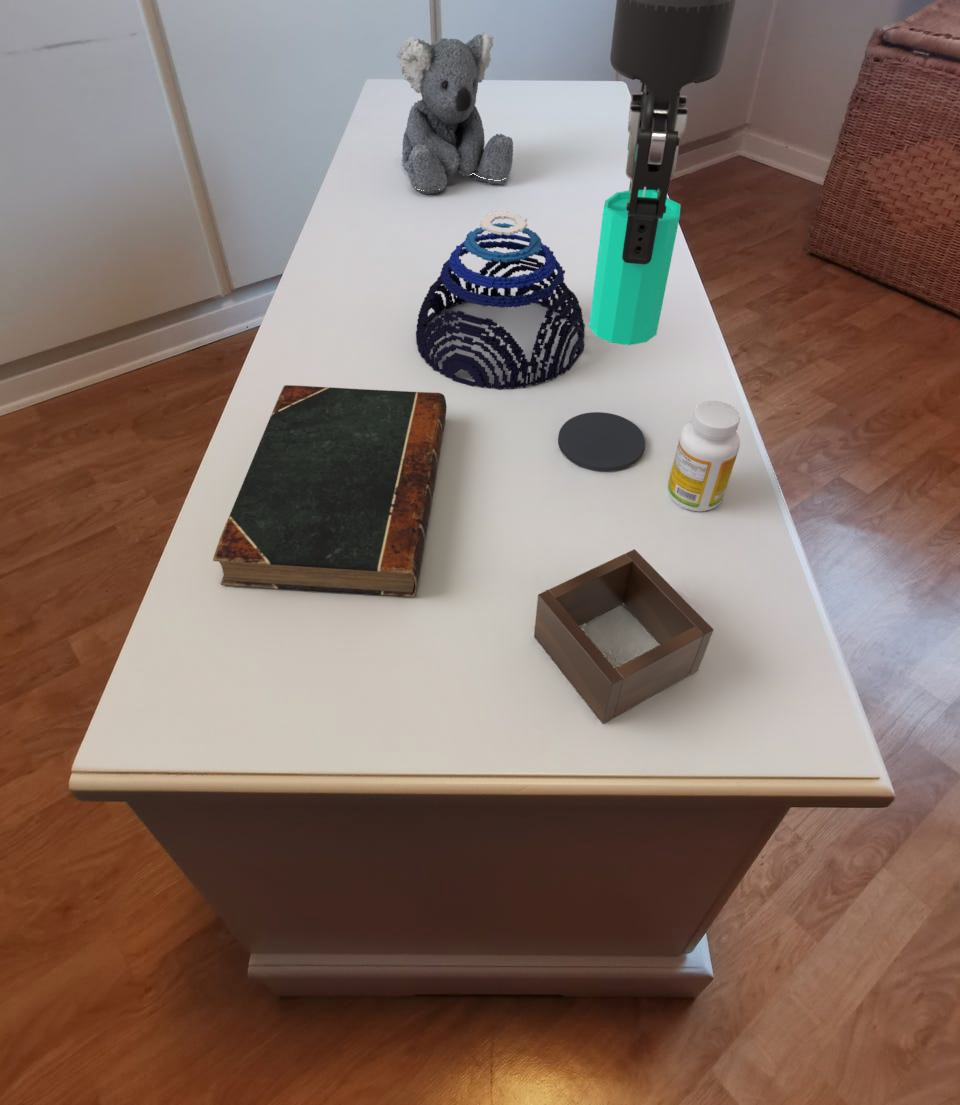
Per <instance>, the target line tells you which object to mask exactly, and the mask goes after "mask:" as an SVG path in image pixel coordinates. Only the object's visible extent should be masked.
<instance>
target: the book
mask: <svg viewBox="0 0 960 1105" xmlns="http://www.w3.org/2000/svg"><path fill="white" fill-rule="evenodd" d="M447 408H448V406H447V400H446V397H445V395H444V394H443V393H441V392H430V391H429V392H428V391H427V392H425V391H409V390H408V391H405V390H384V389H366V388H365V389H363V388H346V387H331V386H330V387H328V386H314V385H313V386H312V385H311V386H310V385H293V384H292V385H291V384H290V385H289V384H285V385H283V387H282V389H281V390H280V394H279V396H278V398H277V400H276V402H275V405H274V408H273V410H272V413H271V415H270V416H269V420H268V422H267V424H266V427H265V429H264V431H263V434H262V435H261V439H260V440H259V443H258V445H257V448H256V451H255V453H254V456H253V458H252V460H251V462H250V465H249V467H248V470H247V472H246V474H245V477H244V479H243V482H242V484H241V487H240V488H239V492H238V494H237V496H236V499H235V501H234V503H233V507H232V508H231V511H230V513H229V516H228V518H227V520H226V523H225V525H224V527H223V530H222V532H221V535H220V536H219V540H218V543H217V546H216V548H215V550H214V551H215V552H214V554H213V557H212V561H213V562H217V563H218V562H219V565H221V569H222V573H223V576H222V579H221V582H220V585H221V586H230V587H231V586H233V587H247V588H261V589H278V590H293V591H305V592H324V593H325V592H326V593H342V594H363V595H377V596H378V595H380V596H391V597H392V596H393V597H402V598H408V597H410V598H414V597H415V596H416V594H417V591H418V584H419V578H420V571H421V565H422V561H423V554H424V550H425V549H424V548H425V542H426V536H427V531H428V526H429V525H428V524H429V519H430V512H431V507H432V503H433V502H432V501H433V496H434V490H435V484H436V478H437V472H438V467H439V459H440V454H441V447H442V440H443V435H444V429H445V422H446V416H447Z"/></svg>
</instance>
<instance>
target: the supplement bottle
mask: <svg viewBox="0 0 960 1105" xmlns="http://www.w3.org/2000/svg"><path fill="white" fill-rule="evenodd" d="M740 422H741V415H740V412H739V411H738V409H736V408H735V407H734V406H732V405H731V404H729V403H726V402H723V401H718V400H708V401H707V400H706V401H704V402H701V403H699V404H698V405H697V406H696V407H695V409H694V412H693V415H692V417H691V421H689V422H687V424H685V425H684V426H683V427H682V429H681V432H680V434H679V438H678V443H677V446H676V450H675V455H674V459H673V463H672V468H671V471H670V474H669V479H668V484H667V494H668V495H669V498H670V499H671V500H672V501H673V502H674V503H675V504H677V506H679V507H681V508H682V509H685V510H688V511H693V512H705V511H710V510H713V509H714V508H717V507H718V506H719V505H720V504H721V503H722V501H723V498H724V496H725V494H726V490H727V487H728V484H729V481H730V478H731V475H732V472H733V469H734V466H735V462H736V459H737V456H738V453H739V451H740V446H741V438H740V436H739V433H738V432H737V431H738V428H739V424H740Z"/></svg>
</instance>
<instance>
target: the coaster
mask: <svg viewBox="0 0 960 1105" xmlns="http://www.w3.org/2000/svg"><path fill="white" fill-rule="evenodd" d="M557 443H558V447H559V451H561V453H562V454H563V456H564V457H565V458H566V459H567V460H569V462H571V463H573V464H574V465H576V466H579V467H581V468H583V469H586V470H590V471H594V472H604V473H605V472H607V473H608V472H617V471H621V470H622V471H623V470H625V469H628V468H630V467H632V466H634V465H635V464H636V463H638V462H639V461H640V460H641V459H642V457H643V455H644V453H645V448H646V438H645V436H644V433H643V431H642V430H641V429H640V427H639V426H637V425H636V424H635V423H634V422H632V421H631V420H629V419H627V418H625V417H623V416H620V415H618V414H614V413H611V412H603V411H593V412H591V411H590V412H585V413H581V414H577V415H575V416H573V417H571V418H569V419H568V420H566V421H565V422H564V423H563V425H562V426H561V427H560V429H559V431H558V437H557Z"/></svg>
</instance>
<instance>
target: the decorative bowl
mask: <svg viewBox="0 0 960 1105" xmlns="http://www.w3.org/2000/svg"><path fill="white" fill-rule="evenodd" d="M499 219H500V220H505V219H506V220H510V221H514V224H511V223H505V222H503V223H500V222H498V223H493V222H494V221H496V220H499ZM527 221H528V218H527V217H522V215H521V214H519V213H515V212H510V211H495V212H494V211H492V212H491V213H490V214H486V215H485V216H484V217H482V218H481V219H480V222H479V227H476V228H475V229H474V230H473V231H472V230H470V231H469V232H468V233H467V234H466V237H465V239H464V241H462V242H461V243H460V244H459V245H455V248H454V250H452V252H450V256H449V259H448V260H446V261H445V262H444V263H443V264H442V267H441V271H440V272H439V273H440V275H439V276H438V277H437V280H436V281H435V282H433V284H431V285H430V286H429V289H428V291H427V293H426V296H425V297H424V298H423V301H422V303H421V305H420V308H419V311H418V312H419V313H418V315H417V320H416V321H417V324H416V331H415V340H416V345H417V351H418V353H420V357H421V358H422V359H424V361H425V363H426V364H427V365H428V366H429V367H431V369H432V370H433V371H435V372H439V374H440V375H444V377H445V378H449V379H452V381H453V382H457V383H460V384H464V385H467V386H471V387H478V388H487V389H495V390H500V391H501V390H504V389H507V390H509V389H511V390H514V389H518V388H519V389H520V388H524V389H526V387H527V386H528V387H529V386H533V387H535V386H536V384H537V385H539V384H542V383H544V384H545V383H546V382H548V381H553V379H557V377H558V376H561V375H562V374H565V373H566V372H567V371H570V370H571V369H572V367H573V366H574V364H575V363H576V362H577V360H578V359H579V358H580V356H581V355H582V353H583V352H584V350H585V329H586V324H585V322H584V318H583V311H582V306H581V305H580V301H579V300H578V297H577V295H576V294H575V293H574V291H571V289H570V288H569V287H568V285H567V283H566V282H565V273H566V270H565V269H563V266H562V265H561V263H559V261H558V260H557V259H556V256H555V255H554V251H553V250H551V249H550V248H551V247H549V246H547V245H546V244H544V243H543V242H542V238H541V237H540V236H539V235H538V233H537V232H535V231H533V229H532V230H531V228H528V223H527ZM484 232H487V234H483V233H484ZM519 232H520V233H522V234H524V235H527V236H528V237H527V236H523V235H518V233H519ZM500 239H501V241H496V240H500ZM491 240H492V241H491ZM507 240H508V241H507ZM512 240H513V241H512ZM515 240H517V241H522V242H525V243H528V244H524V243H519V242H515ZM496 248H500V249H506V250H507V251H508V250H513V251H509V252H507V251H506V252H502V251H498V250H493V251H492V250H490V249H496ZM488 249H489V250H488ZM469 253H470V255H474V256H476V257H477V258H480V259H482V260H484V261H487V262H486V263H485V266H483V267H482V268H481V269H480V270H479V272H477V271H473V269H471V268H468V267H467V266H466V265H465V263H462V259H461V258H460V257H463V256H465V255H467V254H469ZM533 256H539V257H542V258H544V262H542V261H539V259H537V258H534V257H533ZM511 265H513V266H512V267H511V268H509V267H510V266H511ZM514 265H515V266H514ZM507 268H509V269H508V270H506V269H507ZM503 269H504V270H506V271H505V272H504V273H503V274H501V275H500V276H498V275H497V274H498V273H500V272H501V271H502V270H503ZM520 271H521V272H527V271H530V272H529V274H526V273H522V274H519V275H518V276H515V275H513V274H516V272H517V273H519V272H520ZM495 275H496V276H495ZM461 279H462V280H463V281H464V282H465V284H464V285H465V286H463V284H462V283H461V282H462V281H461ZM544 279H545V280H544ZM546 282H549V283H546ZM473 285H474V287H473ZM464 287H465V288H464ZM481 287H483V288H482V291H480V293H479V289H480V288H481ZM499 289H503V290H504V291H503V294H501V292H500V291H499ZM512 289H517V291H515V294H513V295H512ZM489 290H490V294H489ZM530 291H531V293H529V292H530ZM438 292H441V293H438ZM442 294H443V295H444V298H445V302H444V299H443V296H442ZM556 296H557V297H556ZM463 303H464V304H465V303H471V304H474V305H478V306H481V307H491V308H495V307H496V308H501V309H503V308H506V309H508V308H519V307H524V306H530V305H531V304H537V305H540V306H541V307H545V308H547V310H546V311H545V314H544V318H545V320H544V322H543V321H542V322H541V323H540V327H539V329H538V331H537V333H536V336H535V340H534V344H533V347H532V352H531V357H530V358H529V361H528V359H527V358H526V353H524V349H522V346H521V345H520V344H519V343H518V341H517V340H516V338H514V336H513V335H511V332H508V331H507V329H505V326H502V325H499V326H498V322H495V321H494V319H493V318H489V317H486V318H483V317H479V316H476V315H471V314H468V313H466V312H465V311H462V310H458V309H457V311H454V310H451V311H444V310H447V309H451V308H452V307H455V306H457V304H458V305H462V304H463ZM430 310H433V312H431V313H430V314H429V311H430ZM443 311H444V312H443ZM554 312H555V313H559V314H556V315H555V316H553V314H554ZM441 313H443V314H441ZM436 316H437V317H436ZM435 317H436V318H435ZM434 318H435V319H434ZM433 319H434V320H433ZM459 319H460V320H461V321H458V320H459ZM565 319H566V320H565ZM432 320H433V321H432ZM561 320H565V321H564V322H563V321H561ZM454 321H456V322H454ZM462 321H463V322H462ZM453 322H454V323H453ZM466 322H468V323H466ZM446 323H447V324H446ZM451 323H453V324H451ZM470 323H471V324H470ZM556 323H557V324H556ZM473 324H475V325H473ZM478 325H479V326H478ZM482 325H484V326H487V330H489V331H487V330H486V328H485V327H481V326H482ZM548 325H549V329H548V328H547V327H548ZM573 328H574V329H573ZM549 330H551V332H550V336H548V339H547V342H545V340H546V338H547V335H548V333H549ZM490 331H491V333H492V334H493V335H491V333H490ZM542 331H543V332H542ZM447 334H448V335H449V336H448V337H447ZM459 334H463V335H464V336H463V337H462V336H459ZM466 335H467V336H466ZM576 335H577V338H578V339H577V340H576V341H575V343H574V344H573V345H572V347H571V350H570V353H569V356H568V362H567V364H566V365H565V360H566V357H567V352H568V351H569V347H570V346H571V345H570V344H571V341H572V340H573V338H574V337H575V336H576ZM557 336H558V337H559V339H558V343H557V344H556V348H555V351H554V353H553V355H551V353H552V348H553V346H554V344H555V342H556V338H557ZM443 337H444V338H443ZM473 337H475V338H478V339H479V341H476V340H475V341H474V338H473ZM498 337H499V338H498ZM440 339H441V340H440ZM439 340H440V341H439ZM452 341H453V342H456V341H459V342H460V343H461V344H462V343H463V344H462V345H458V344H453V343H452ZM501 341H502V342H501ZM539 341H540V342H539ZM436 342H437V343H436ZM448 342H449V343H451V344H450V345H449V346H446V344H447V343H448ZM435 343H436V344H435ZM501 343H502V344H501ZM503 343H504V344H503ZM444 345H445V346H444ZM468 345H469V346H468ZM508 345H509V349H510V350H511V351H510V350H509V349H508ZM441 346H442V347H443V346H444V347H443V348H442V349H440V347H441ZM471 346H478V347H480V349H482V351H483V352H484V353H488V354H489V356H491V359H493V361H494V362H495V365H496V366H497V368H498V369H499V371H501V382H500V375H498V373H497V372H495V371H496V366H495V365H494V364H493V363H491V362H492V361H491V360H489V358H488V357H485V354H483V352H482V351H479V350H475V349H472V347H471ZM489 346H490V348H489ZM541 346H542V347H541ZM439 349H440V350H439ZM456 350H459V351H463V352H467V353H470V354H473V355H474V357H473V356H469V355H466V354H462V353H458V352H455V351H456ZM543 350H544V352H543V357H542V359H540V358H541V354H542V351H543ZM493 351H494V352H493ZM431 352H432V353H431ZM450 352H452V354H451V355H450V356H448V354H449V353H450ZM453 352H454V353H453ZM512 354H513V355H512ZM446 355H447V356H446ZM435 356H436V357H435ZM498 356H499V357H500V358H501V360H503V362H502V361H501V360H499V359H498ZM443 357H445V359H443ZM475 357H477V358H478V360H476V359H475ZM514 357H515V359H514ZM538 359H540V360H539V361H537V360H538ZM550 359H551V360H552V362H550ZM479 360H480V361H482V363H483V364H484V365H485V366H483V365H482V364H481V363H480V362H479ZM440 361H442V362H441V368H440V366H439V363H440ZM548 363H549V364H548ZM539 364H541V366H540V365H539ZM518 365H519V367H518ZM564 365H565V366H564ZM504 366H505V369H506V370H507V372H509V376H508V374H506V370H505V369H504ZM486 367H487V369H488V370H489V371H490V372H491V376H492V377H493V383H491V382H490V376H489V375H488V371H487V370H486ZM529 367H530V371H529ZM546 368H547V369H546ZM461 371H465V372H467V374H468V375H469V377H471V379H472V380H471V379H466V378H464V377H460V376H457V375H456V374H457V373H459V372H461ZM538 371H539V375H538V376H537V374H538ZM520 374H521V375H520ZM519 375H520V376H521V377H520V378H521V379H522V380H520V379H519ZM531 376H532V377H531ZM508 377H509V381H508ZM531 379H532V381H531ZM473 380H474V381H473ZM502 382H503V383H502Z"/></svg>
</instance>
